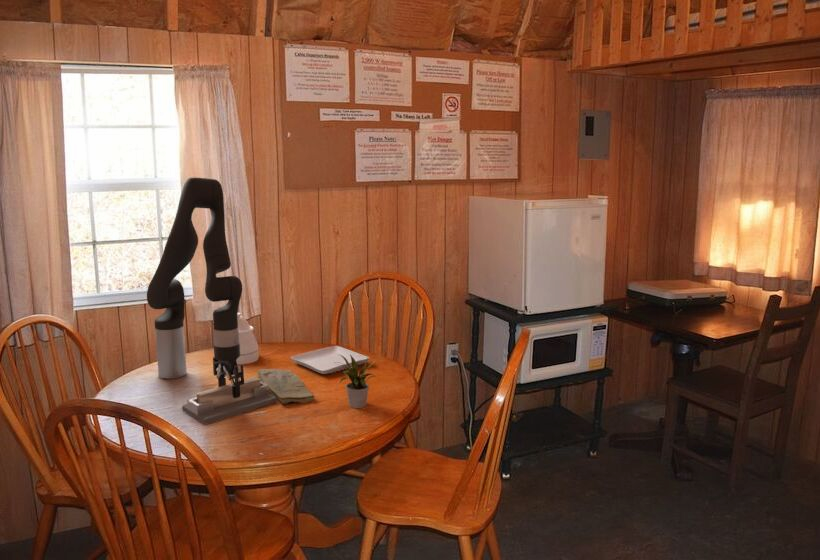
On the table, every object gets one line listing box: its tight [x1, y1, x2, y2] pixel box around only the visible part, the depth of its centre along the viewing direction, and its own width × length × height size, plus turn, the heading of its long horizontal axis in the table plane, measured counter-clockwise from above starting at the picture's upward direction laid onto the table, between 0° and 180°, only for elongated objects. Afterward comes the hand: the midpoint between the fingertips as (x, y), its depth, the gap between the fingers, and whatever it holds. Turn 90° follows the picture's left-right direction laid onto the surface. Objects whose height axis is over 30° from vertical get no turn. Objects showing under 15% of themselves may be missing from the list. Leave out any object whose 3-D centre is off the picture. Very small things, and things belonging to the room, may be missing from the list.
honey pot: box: [236, 312, 260, 366], centre depth 245 cm, size 13×13×18 cm
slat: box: [196, 376, 260, 408], centre depth 202 cm, size 2×20×5 cm, turn 135°
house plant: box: [333, 354, 379, 409], centre depth 202 cm, size 14×14×16 cm
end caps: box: [187, 381, 270, 415], centre depth 202 cm, size 6×24×3 cm, turn 134°
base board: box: [181, 393, 277, 425], centre depth 202 cm, size 14×24×2 cm, turn 134°
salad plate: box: [290, 345, 370, 375], centre depth 241 cm, size 21×21×3 cm
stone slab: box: [257, 368, 315, 405], centre depth 217 cm, size 12×4×30 cm
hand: (229, 393), depth 202 cm, fingers open, 8 cm apart
